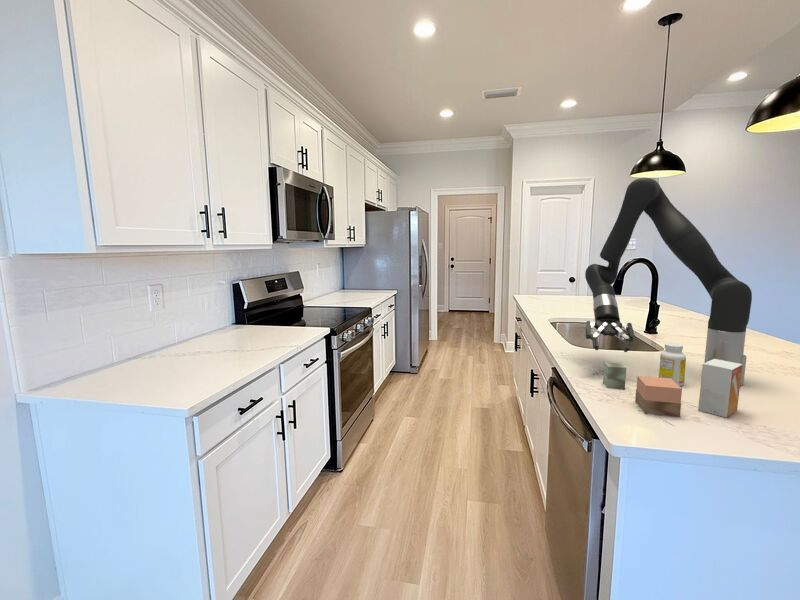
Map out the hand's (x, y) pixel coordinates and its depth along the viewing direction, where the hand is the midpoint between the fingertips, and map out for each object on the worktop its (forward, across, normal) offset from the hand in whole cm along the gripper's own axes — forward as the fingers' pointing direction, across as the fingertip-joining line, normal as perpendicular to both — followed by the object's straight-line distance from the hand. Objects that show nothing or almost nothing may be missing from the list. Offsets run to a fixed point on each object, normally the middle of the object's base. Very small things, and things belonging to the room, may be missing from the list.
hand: (611, 349), depth 122 cm
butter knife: (+30, +8, -15) cm, 35 cm away
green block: (+11, 0, +4) cm, 12 cm away
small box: (+20, +22, -5) cm, 30 cm away
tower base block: (+22, +7, -7) cm, 25 cm away
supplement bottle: (+6, +18, +9) cm, 21 cm away
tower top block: (+20, +7, -10) cm, 23 cm away
